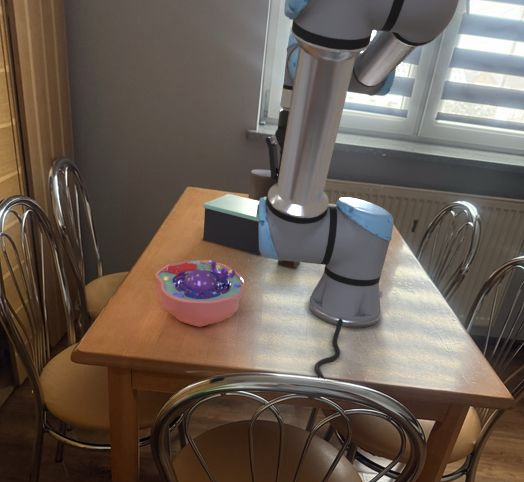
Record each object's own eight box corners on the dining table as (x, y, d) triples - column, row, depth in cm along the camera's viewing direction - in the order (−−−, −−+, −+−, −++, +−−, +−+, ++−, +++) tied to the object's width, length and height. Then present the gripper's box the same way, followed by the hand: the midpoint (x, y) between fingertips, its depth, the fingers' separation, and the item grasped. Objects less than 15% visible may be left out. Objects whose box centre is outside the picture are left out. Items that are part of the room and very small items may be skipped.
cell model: (242, 299, 109) (248, 249, 104) (239, 347, 92) (245, 290, 86) (163, 291, 108) (164, 240, 102) (145, 337, 91) (145, 279, 85)
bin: (258, 255, 133) (262, 222, 129) (203, 239, 138) (204, 207, 134) (277, 241, 144) (282, 210, 140) (226, 227, 149) (228, 197, 145)
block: (293, 268, 128) (296, 251, 126) (277, 264, 129) (279, 247, 127) (299, 263, 132) (302, 247, 129) (283, 259, 133) (286, 243, 131)
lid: (263, 222, 128) (264, 209, 126) (202, 207, 133) (203, 194, 132) (284, 210, 140) (285, 197, 138) (228, 197, 145) (229, 184, 143)
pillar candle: (272, 223, 158) (278, 174, 150) (242, 217, 159) (247, 168, 152) (279, 215, 166) (286, 168, 158) (251, 210, 168) (256, 163, 160)
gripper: (326, 114, 121) (309, 211, 134) (276, 105, 125) (265, 200, 137) (316, 116, 115) (299, 218, 127) (264, 106, 119) (253, 206, 131)
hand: (281, 208), depth 132 cm, fingers closed
